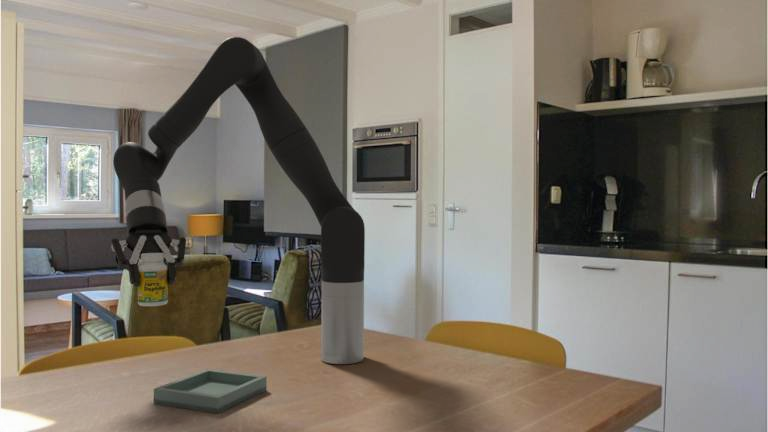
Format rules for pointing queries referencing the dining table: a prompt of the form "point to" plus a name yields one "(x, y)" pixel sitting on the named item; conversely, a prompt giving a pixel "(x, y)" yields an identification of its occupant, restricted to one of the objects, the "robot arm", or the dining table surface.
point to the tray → (210, 390)
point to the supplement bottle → (152, 280)
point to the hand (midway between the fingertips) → (154, 282)
